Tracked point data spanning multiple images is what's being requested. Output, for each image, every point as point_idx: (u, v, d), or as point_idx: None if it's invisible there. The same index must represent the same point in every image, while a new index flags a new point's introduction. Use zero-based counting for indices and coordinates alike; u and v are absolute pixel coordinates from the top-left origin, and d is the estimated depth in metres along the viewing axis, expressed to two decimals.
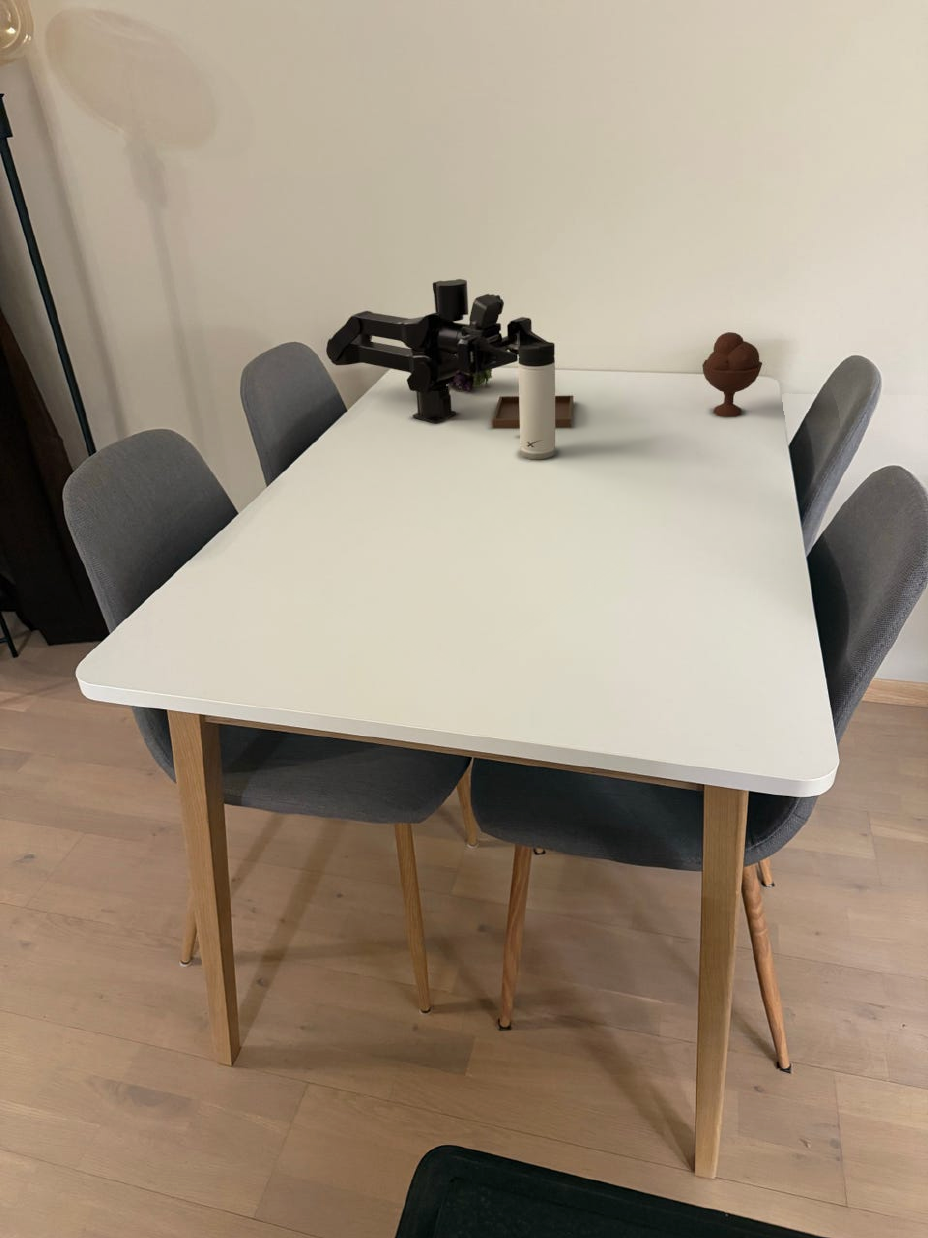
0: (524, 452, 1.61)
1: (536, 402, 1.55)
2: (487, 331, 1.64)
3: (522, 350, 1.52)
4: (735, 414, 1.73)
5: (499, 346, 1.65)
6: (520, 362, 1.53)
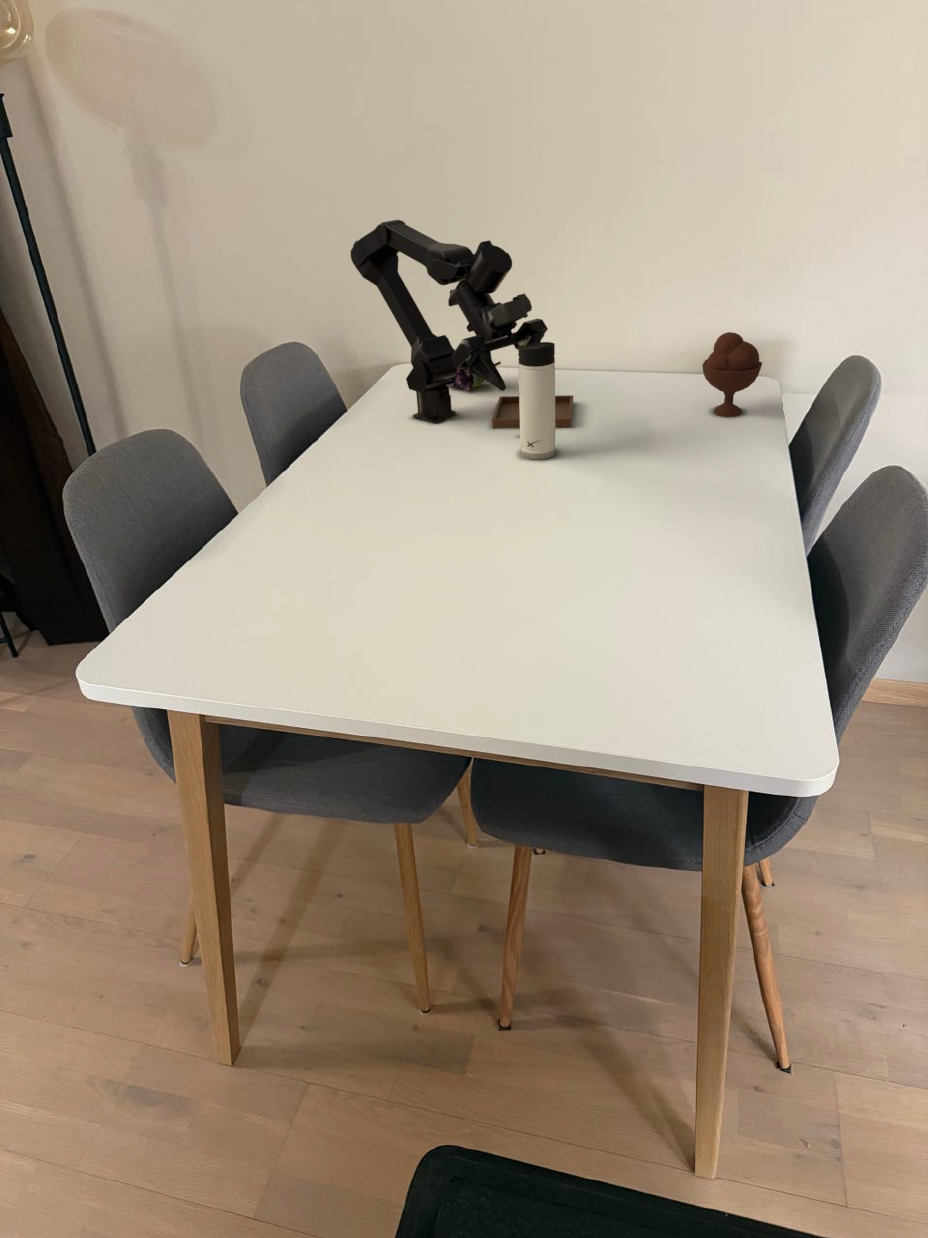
0: (524, 452, 1.61)
1: (536, 403, 1.55)
2: (499, 330, 1.57)
3: (522, 350, 1.52)
4: (735, 414, 1.73)
5: (502, 346, 1.60)
6: (520, 362, 1.53)
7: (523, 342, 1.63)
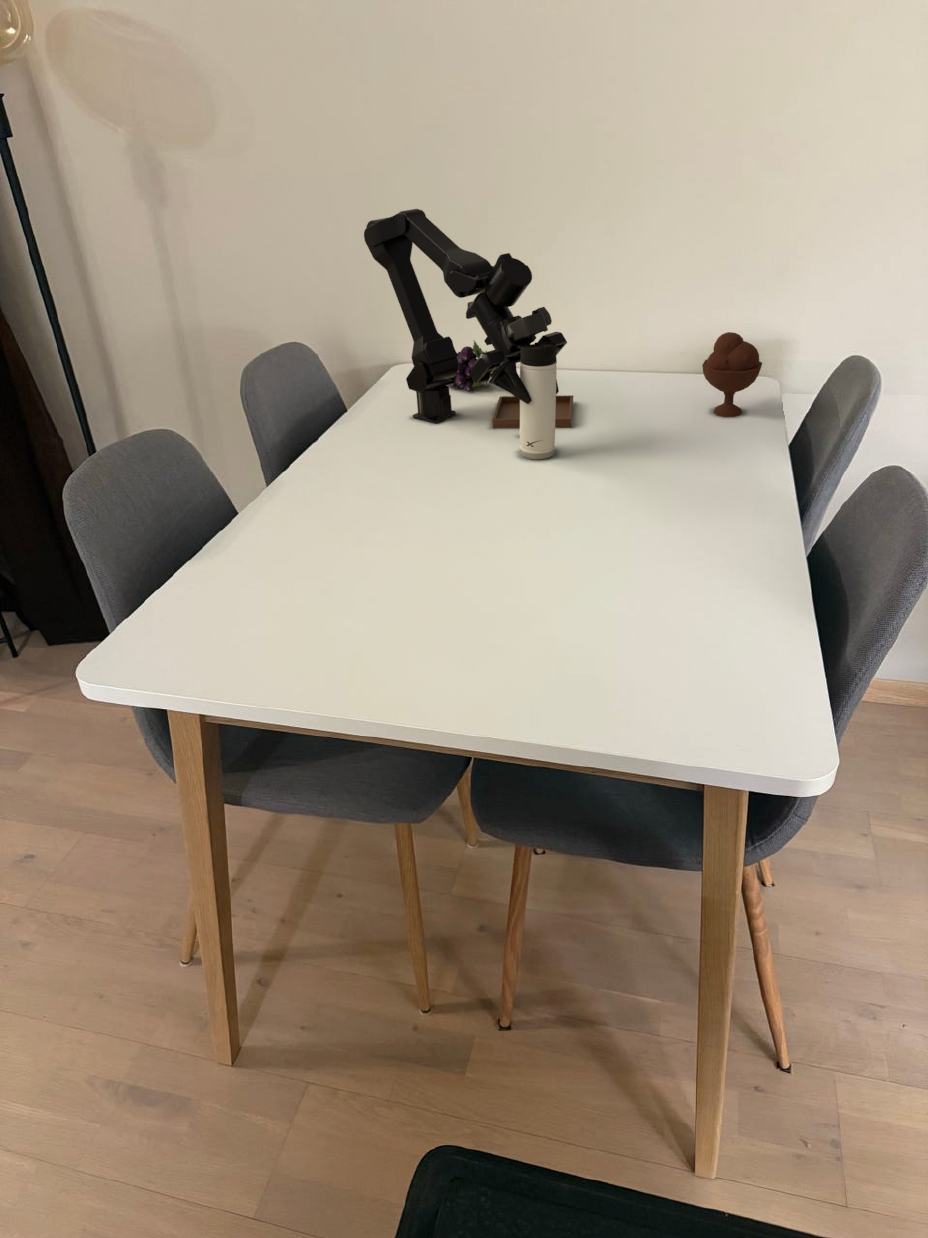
0: (523, 452, 1.61)
1: (537, 402, 1.55)
2: (518, 344, 1.55)
3: (524, 350, 1.51)
4: (735, 414, 1.73)
5: (515, 362, 1.57)
6: (522, 361, 1.53)
7: None
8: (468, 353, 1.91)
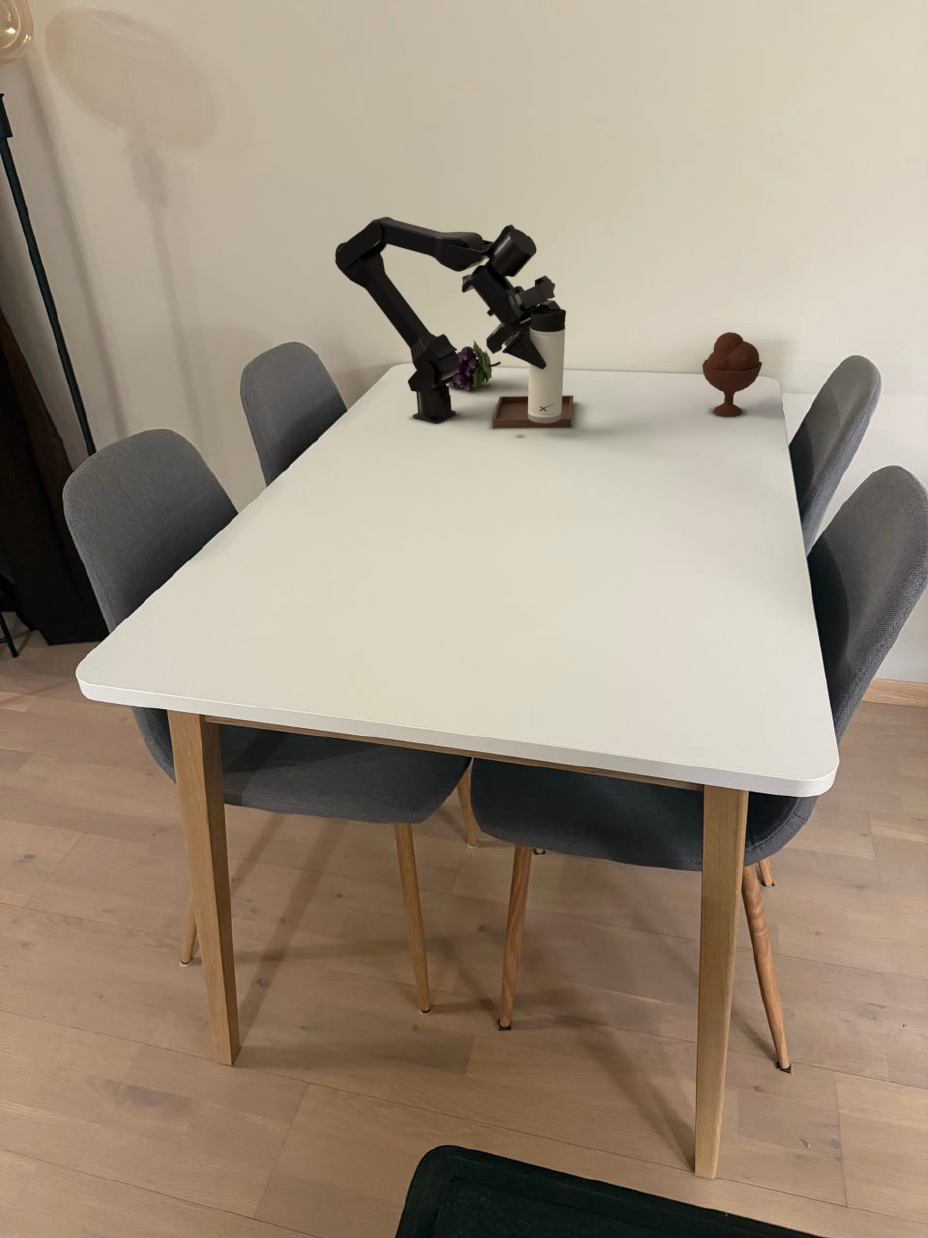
0: (535, 417, 1.67)
1: (551, 367, 1.61)
2: (526, 313, 1.60)
3: (539, 316, 1.57)
4: (735, 414, 1.73)
5: None
6: (535, 329, 1.59)
7: None
8: (468, 353, 1.91)
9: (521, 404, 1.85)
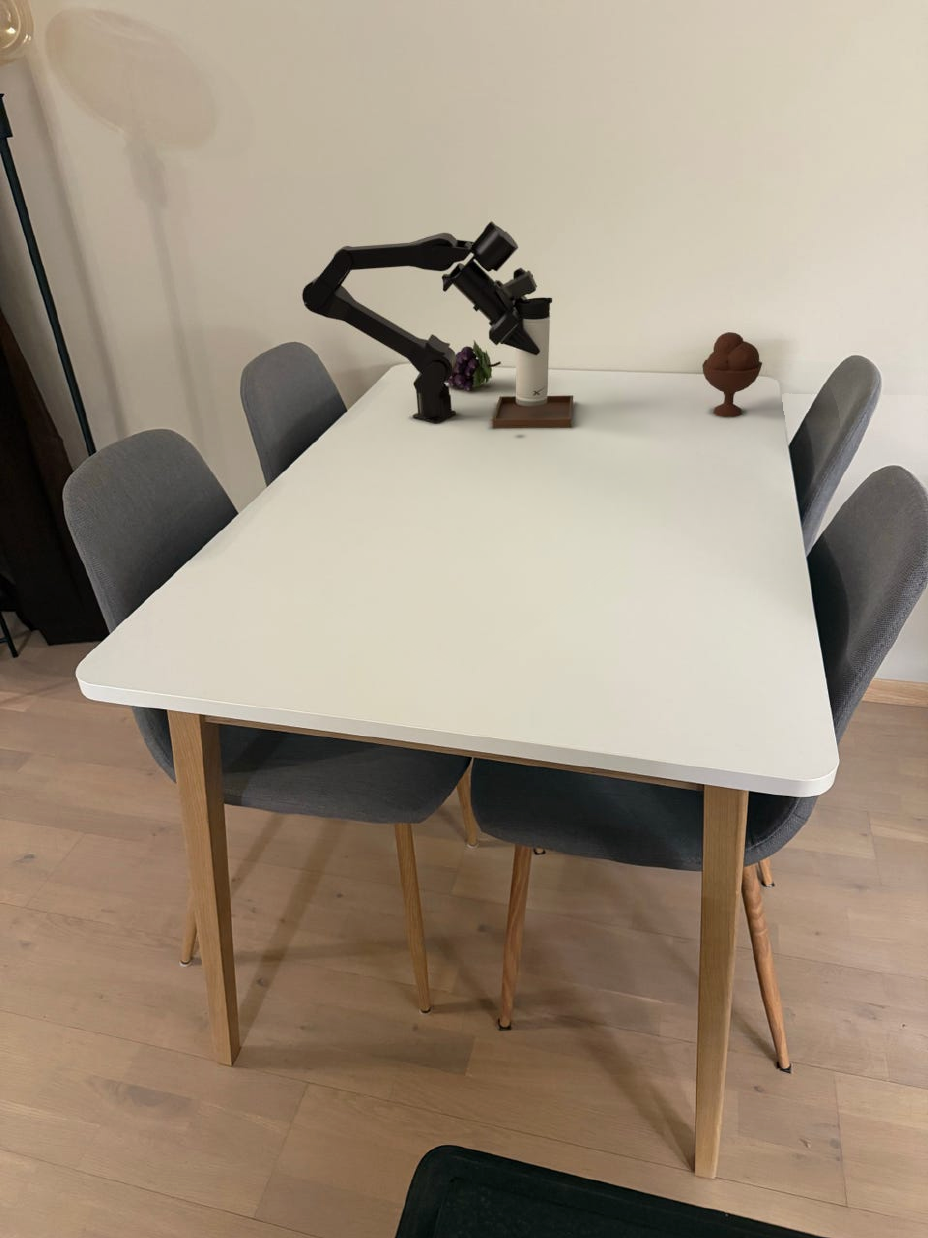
0: (529, 402, 1.76)
1: (543, 352, 1.71)
2: None
3: (531, 305, 1.66)
4: (735, 414, 1.73)
5: None
6: (527, 317, 1.68)
7: None
8: (468, 353, 1.91)
9: None
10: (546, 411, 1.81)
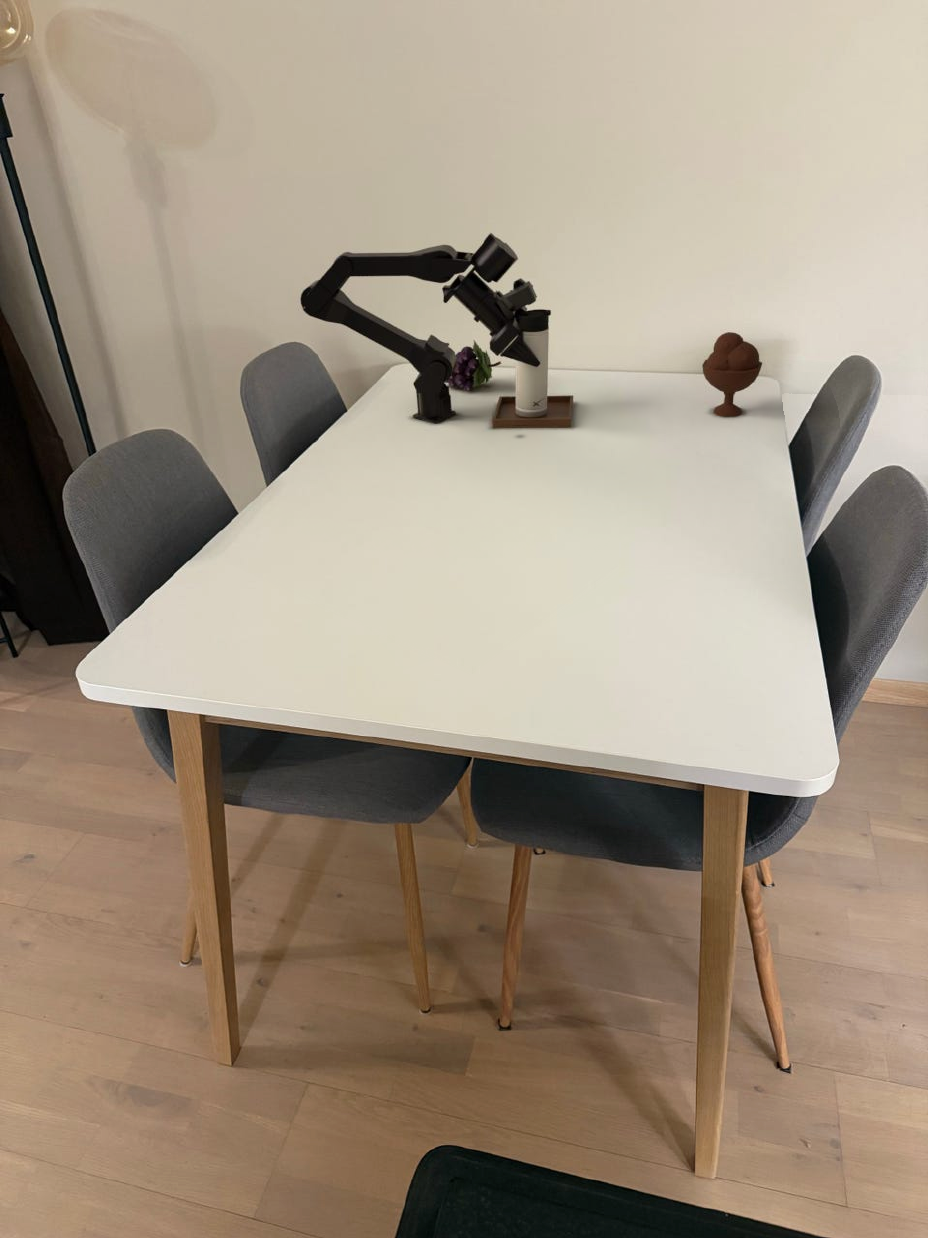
0: (529, 413, 1.77)
1: (542, 364, 1.72)
2: None
3: (530, 318, 1.67)
4: (735, 414, 1.73)
5: None
6: (526, 330, 1.69)
7: None
8: (468, 353, 1.91)
9: None
10: None
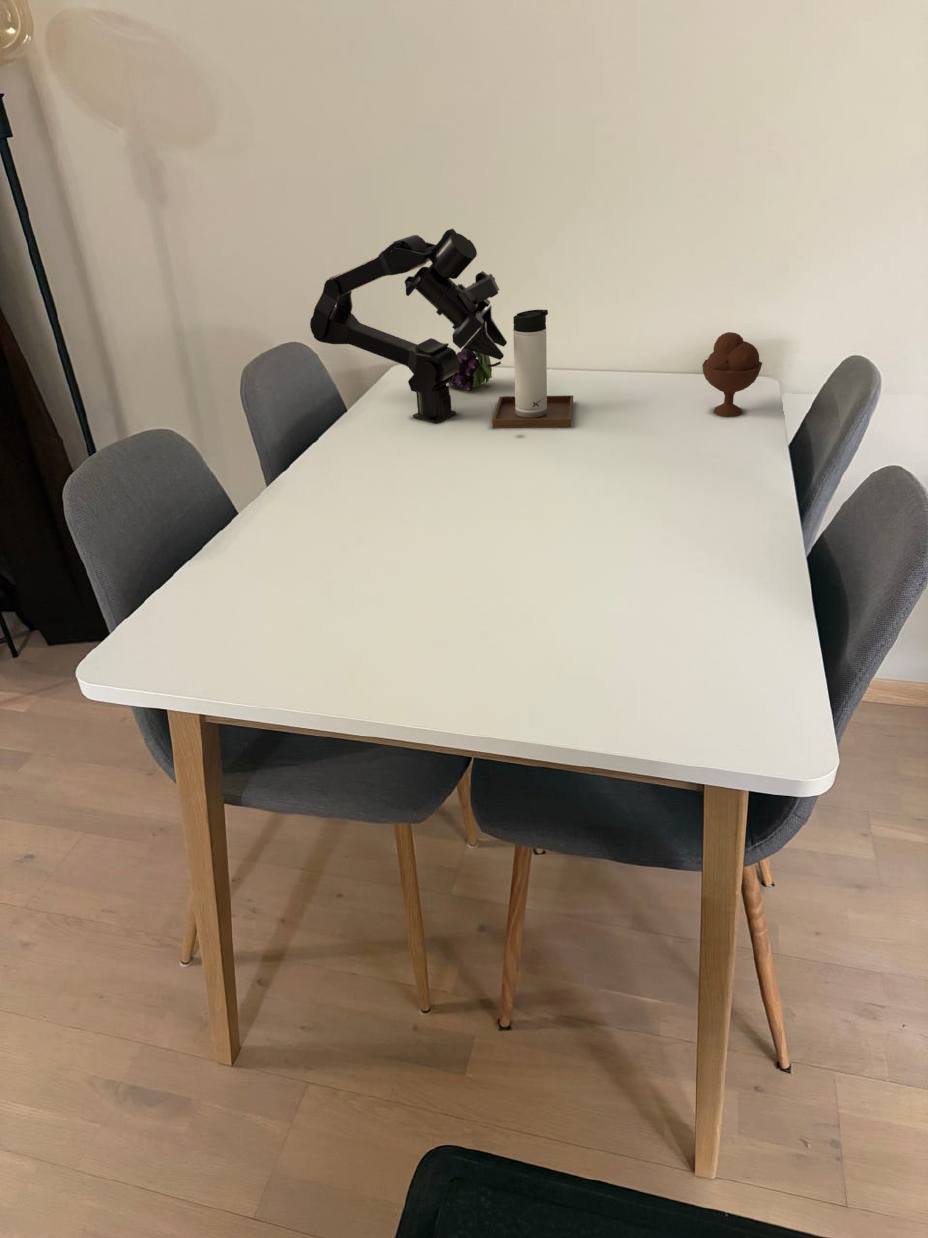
0: (529, 413, 1.77)
1: (541, 364, 1.73)
2: None
3: (527, 318, 1.68)
4: (735, 414, 1.73)
5: None
6: (523, 330, 1.69)
7: None
8: (468, 353, 1.91)
9: None
10: None
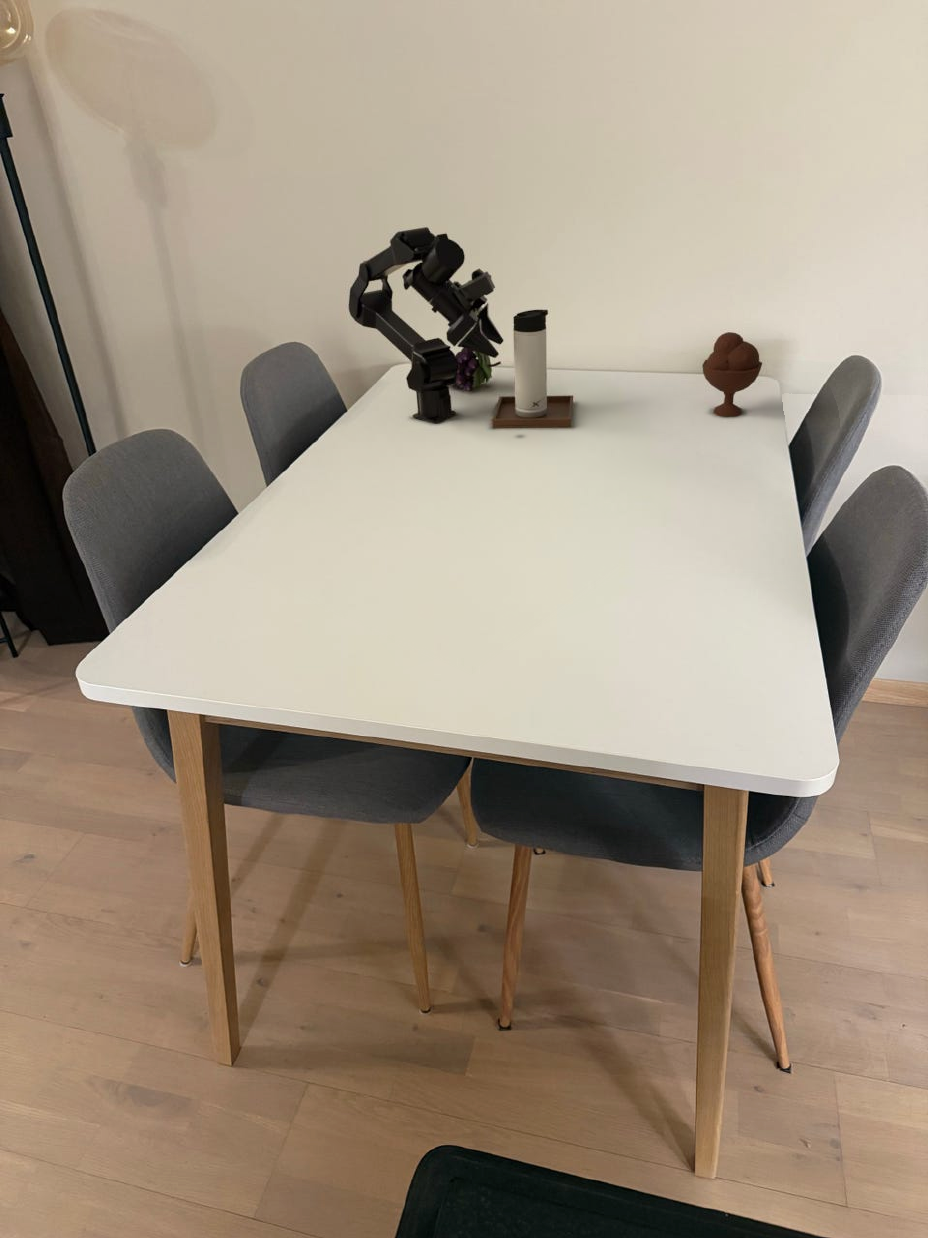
0: (529, 413, 1.77)
1: (541, 364, 1.73)
2: None
3: (527, 318, 1.68)
4: (735, 414, 1.73)
5: None
6: (523, 330, 1.69)
7: None
8: (468, 353, 1.91)
9: None
10: None
